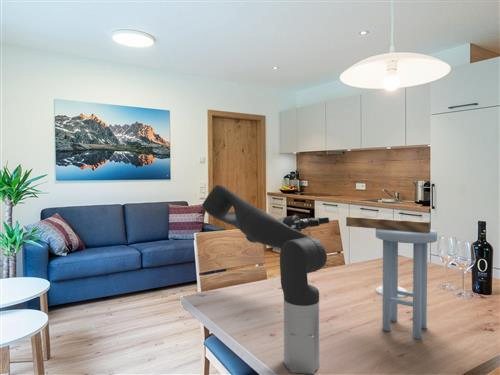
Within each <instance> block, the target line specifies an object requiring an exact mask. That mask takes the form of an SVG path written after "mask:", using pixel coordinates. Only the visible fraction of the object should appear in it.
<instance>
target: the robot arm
mask: <svg viewBox="0 0 500 375" xmlns="http://www.w3.org/2000/svg"><path fill="white" fill-rule="evenodd" d="M201 204H202V205H201V206H202V209H203V210H204V212H206V213H207V214H208V215H210V217H212V218H213V219H217V221H221V222H223V223H225V224H228V225H230V226H233V227H234V228H236V229H237V230H240V232H241V233H243V234H244V235H245V238H246V240H247V241H248V242H250V243H253V244H255V243H258V244H261V245H265V246H267V247H268V246H269V247H273V248H276V249H280V252H279V269H280V270H279V272H280V286H281V290H282V292H283V365H284V366H285V368H287V369H288V370H289V373H291V374H292V373H293V374H310V375H312V374H313V375H314V374H315V371H317V370H318V369H319V368H320V292H319V289H318V287H316V286H314V285H311V284H309V280H308V274H312V273H315V272H317V271H319V270H321V269H322V268H324V266H326V264H327V259H328V254H327V251H326V248H325V246H324V245H323V244H322V243H321V242H320V241H319V240H318V239H317V238H315V237H312V236H310V235H309V234H306V233H304V232H302V230H307V229H309V228H315V227H319V226H320V225H324V224H325V225H326V224H330V217H317V218H316V217H315V218H314V217H310V218H302V219H301V218H300V217H299V216H298V215H289V216H282V217H278V218H275V217H274V216H272V215H271V214H269V213H268V212H266V211H264V210H263V209H261V208H259V207H256V205H254V204H251V203H249V202H248V201H246V200H244V199H243V198H241V197H240V196H238V195H237V194H236V193H234V192H233V191H232V190H230V189H229V188H227V187H225V186H223V185H220V184H218V185H215V186H214V187H213V188H212V189H211V191H210V192H209V194H208V195H207V196H206V198H205V199H204V200H203V202H202V203H201ZM232 207H233V210H234V211H230V210H231V209H232Z"/></svg>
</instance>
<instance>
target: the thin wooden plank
mask: <svg viewBox="0 0 500 375" xmlns="http://www.w3.org/2000/svg"><path fill="white" fill-rule="evenodd" d="M345 221H346V223H345V224H346V227H351V228H352V227H353V228H364V229H374V230H376V229H387V230H399V231H411V232H423V233H429V232H430V229H431V221H428V220H413V219H412V220H411V219H399V218H382V217H369V216H368V217H367V216H366V217H365V216H354V215H349V216H346V217H345Z"/></svg>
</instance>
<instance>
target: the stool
mask: <svg viewBox="0 0 500 375" xmlns="http://www.w3.org/2000/svg"><path fill="white" fill-rule="evenodd" d="M375 238H377V239H378V240H382V285H383V295H382V310H381V311H382V316H381V317H382V318H381V319H382V320H381V321H382V322H381V324H382V326H381V327H382V330H383V331H385V332H390V331H391V322H393V323H394V322H398V308H399V307H398V305H402V306H407V307H411V308H412V338H414V339H416V340H421V339H422V329H427V328H428V326H427V324H428V322H427V320H428V319H427V317H428V248H429V247H428V245H429V244H432V243H435V242H437V241H438V231H436V230H435V229H431V228H430V232H429V233H423V232H411V231H399V230H387V229H375ZM400 243H401V244H413V249H412V250H413V251H412V252H413V253H412V256H413V257H412V260H413V261H412V275H413V276H412V291H408V290H407V291H402V290H398V286H399V284H398V282H399V280H398V279H399V273H398V272H399V266H398V265H399V244H400ZM398 294H399V295H404V296H407V297H410V298H412V301H411V300H406V299H403V298H402V299H401V298H398Z"/></svg>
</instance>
